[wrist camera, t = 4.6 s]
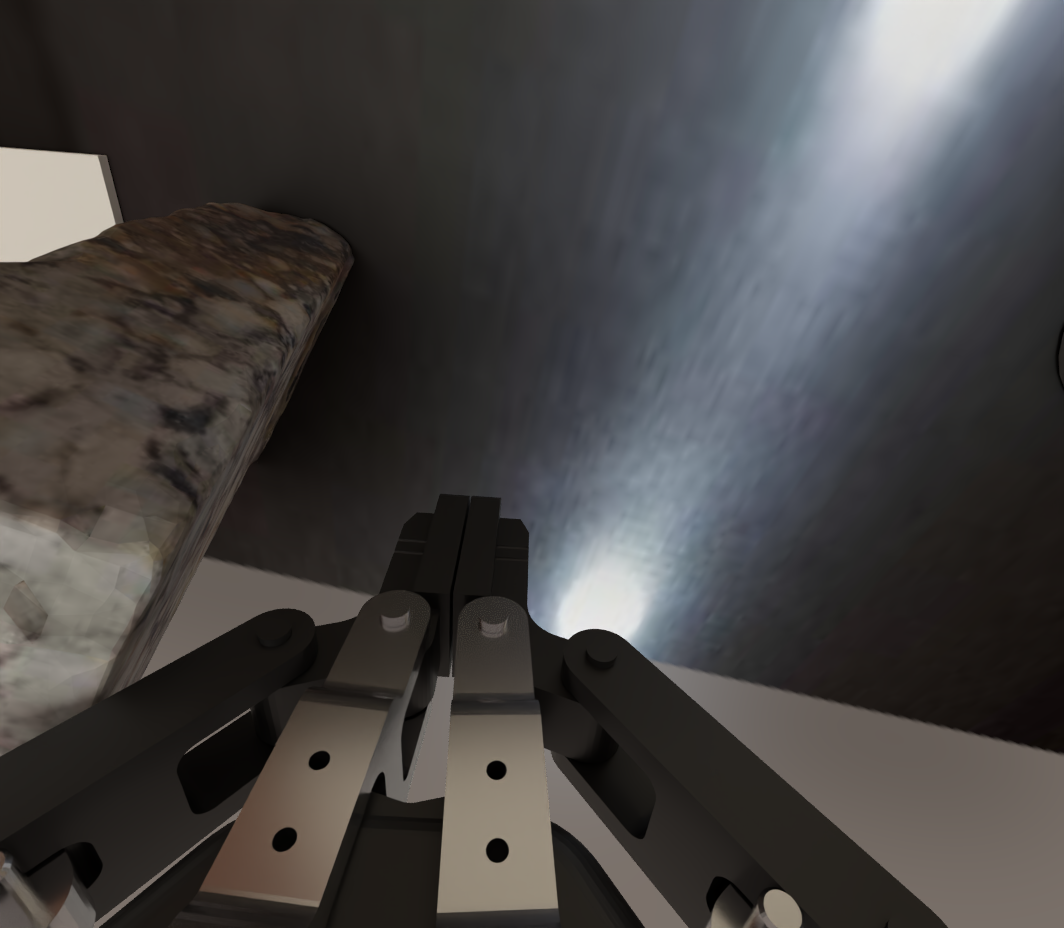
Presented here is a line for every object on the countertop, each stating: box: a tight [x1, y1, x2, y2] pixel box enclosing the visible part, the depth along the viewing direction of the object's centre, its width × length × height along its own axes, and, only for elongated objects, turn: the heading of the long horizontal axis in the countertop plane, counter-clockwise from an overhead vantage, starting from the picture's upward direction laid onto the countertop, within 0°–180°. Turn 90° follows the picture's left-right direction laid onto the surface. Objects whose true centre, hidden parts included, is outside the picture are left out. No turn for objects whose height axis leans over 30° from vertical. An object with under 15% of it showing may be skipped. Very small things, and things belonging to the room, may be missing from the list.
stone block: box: [0, 202, 355, 756], centre depth 17 cm, size 13×7×20 cm, turn 151°
